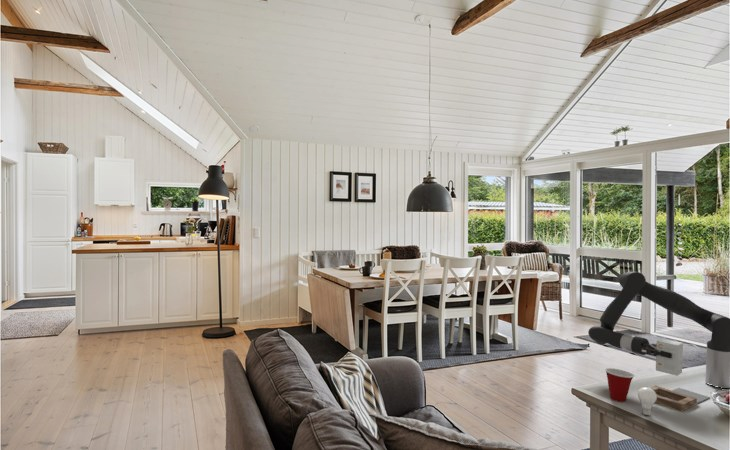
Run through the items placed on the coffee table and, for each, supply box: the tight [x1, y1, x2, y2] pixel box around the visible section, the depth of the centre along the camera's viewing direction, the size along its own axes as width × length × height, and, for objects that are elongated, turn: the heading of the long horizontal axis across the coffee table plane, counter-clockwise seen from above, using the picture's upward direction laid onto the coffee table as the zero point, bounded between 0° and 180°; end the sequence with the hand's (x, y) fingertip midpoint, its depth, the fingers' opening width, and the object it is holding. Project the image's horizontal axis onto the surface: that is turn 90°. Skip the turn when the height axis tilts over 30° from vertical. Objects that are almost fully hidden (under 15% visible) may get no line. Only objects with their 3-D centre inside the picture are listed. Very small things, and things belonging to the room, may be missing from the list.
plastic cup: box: [605, 367, 635, 403], centre depth 188 cm, size 11×11×12 cm
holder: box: [649, 385, 697, 412], centre depth 188 cm, size 14×16×2 cm
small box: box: [655, 338, 684, 377], centre depth 188 cm, size 8×6×13 cm
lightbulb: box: [637, 386, 658, 416], centre depth 173 cm, size 6×6×11 cm
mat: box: [672, 387, 711, 405], centre depth 194 cm, size 12×12×1 cm
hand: (675, 354), depth 186 cm, fingers closed on small box, 6 cm apart
